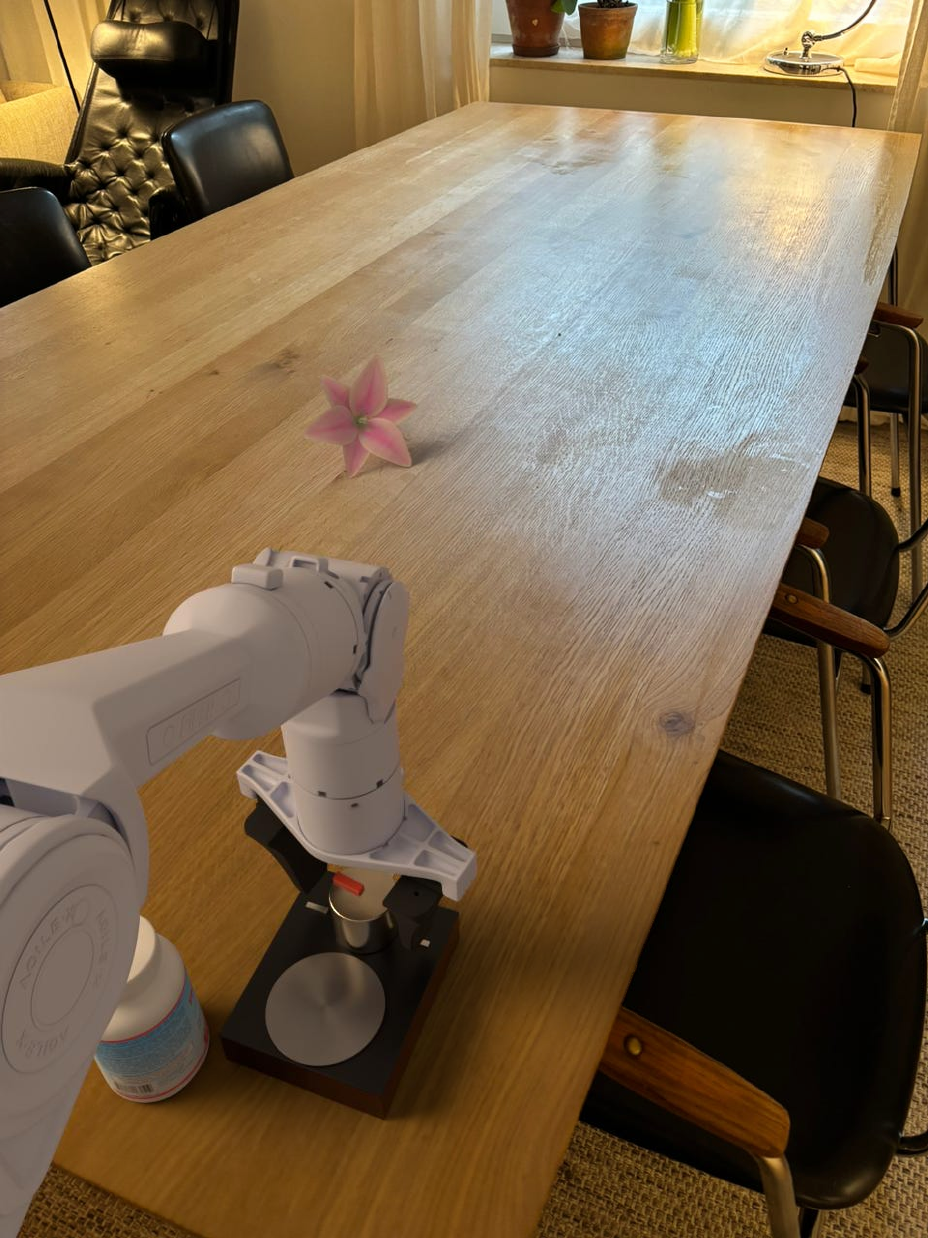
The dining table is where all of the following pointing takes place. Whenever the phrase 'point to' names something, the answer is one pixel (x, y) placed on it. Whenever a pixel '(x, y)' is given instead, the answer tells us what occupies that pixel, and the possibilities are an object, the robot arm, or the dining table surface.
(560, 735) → the dining table surface
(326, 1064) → the burner
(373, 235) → the dining table surface
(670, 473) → the dining table surface
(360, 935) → the stove knob
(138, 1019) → the pill bottle
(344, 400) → the lily
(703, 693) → the dining table surface
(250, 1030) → the stove
